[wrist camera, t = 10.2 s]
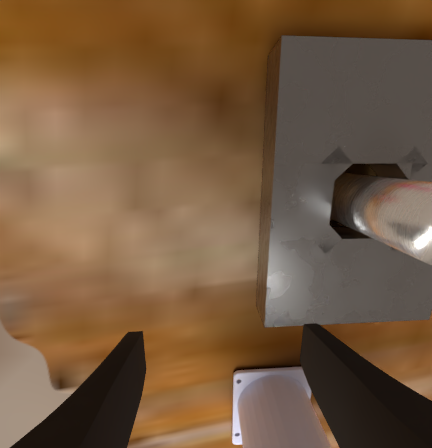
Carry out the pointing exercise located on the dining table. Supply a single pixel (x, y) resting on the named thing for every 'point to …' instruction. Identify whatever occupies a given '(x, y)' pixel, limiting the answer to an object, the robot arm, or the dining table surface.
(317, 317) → the dock plate
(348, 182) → the steel peg
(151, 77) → the dining table surface
